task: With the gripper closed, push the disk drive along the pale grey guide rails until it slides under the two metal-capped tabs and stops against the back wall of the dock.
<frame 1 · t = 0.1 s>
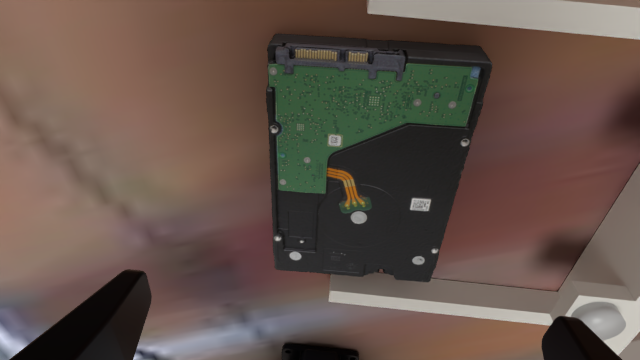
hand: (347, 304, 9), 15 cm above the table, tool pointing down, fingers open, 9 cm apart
disk drive: (362, 158, 25), on the table
dock: (495, 179, 24), on the table
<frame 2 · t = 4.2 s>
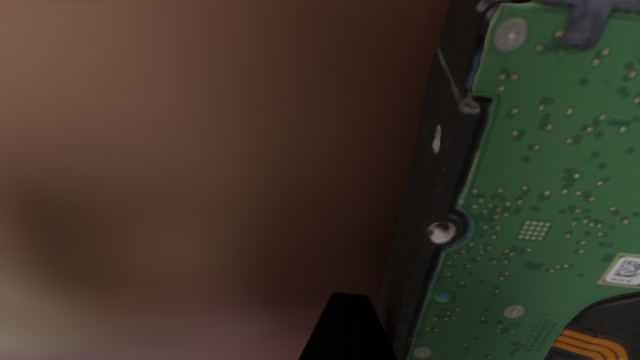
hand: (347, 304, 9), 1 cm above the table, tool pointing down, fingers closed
disk drive: (585, 268, 11), on the table, touching gripper
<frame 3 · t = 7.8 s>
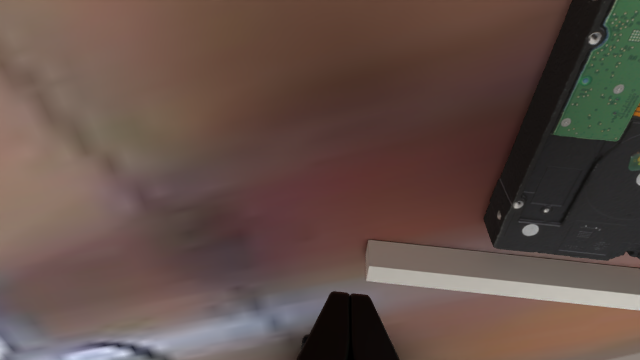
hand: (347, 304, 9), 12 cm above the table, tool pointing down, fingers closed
dock: (595, 114, 19), on the table
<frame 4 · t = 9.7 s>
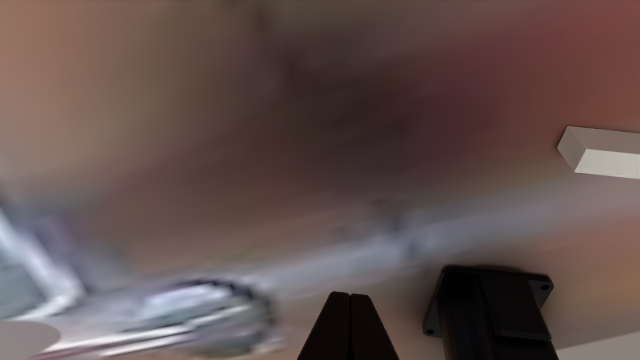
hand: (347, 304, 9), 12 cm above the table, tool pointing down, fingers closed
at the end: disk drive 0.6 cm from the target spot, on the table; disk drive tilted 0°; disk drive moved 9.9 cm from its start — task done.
